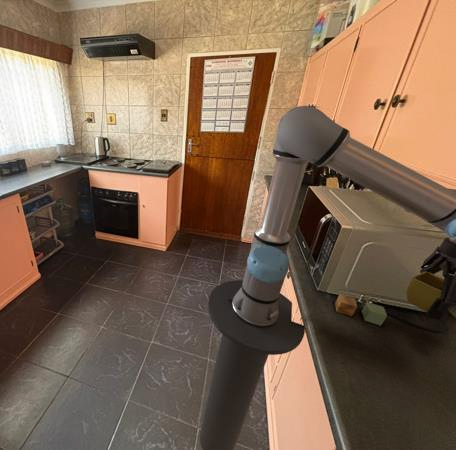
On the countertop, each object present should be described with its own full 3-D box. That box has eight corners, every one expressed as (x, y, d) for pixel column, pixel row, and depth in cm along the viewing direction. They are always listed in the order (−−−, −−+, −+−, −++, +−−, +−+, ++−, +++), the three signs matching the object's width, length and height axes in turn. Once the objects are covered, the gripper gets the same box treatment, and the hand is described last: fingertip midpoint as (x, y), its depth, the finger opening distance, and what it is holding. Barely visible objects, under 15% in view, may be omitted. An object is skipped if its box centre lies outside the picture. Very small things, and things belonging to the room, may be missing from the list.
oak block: (336, 311, 86) (341, 302, 84) (335, 303, 90) (339, 293, 88) (351, 316, 84) (357, 306, 82) (349, 307, 88) (354, 298, 86)
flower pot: (411, 292, 81) (426, 270, 77) (448, 311, 74) (466, 288, 70) (397, 299, 77) (411, 277, 73) (433, 320, 70) (451, 296, 66)
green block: (364, 320, 83) (370, 310, 81) (361, 311, 87) (367, 302, 85) (381, 325, 81) (387, 316, 79) (377, 316, 85) (383, 306, 83)
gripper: (518, 271, 54) (460, 338, 64) (462, 227, 73) (423, 284, 83) (471, 261, 57) (422, 326, 67) (428, 222, 76) (395, 277, 86)
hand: (423, 303), depth 75 cm, fingers closed on flower pot, 11 cm apart
